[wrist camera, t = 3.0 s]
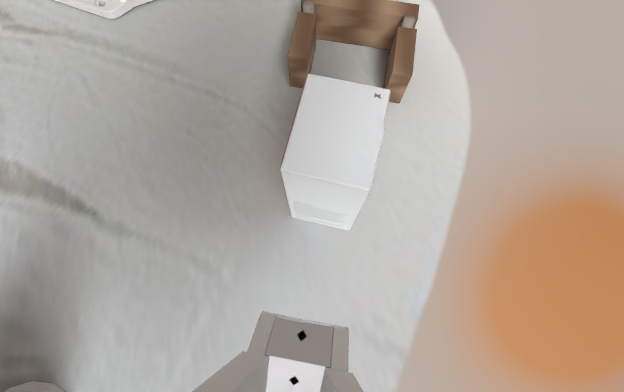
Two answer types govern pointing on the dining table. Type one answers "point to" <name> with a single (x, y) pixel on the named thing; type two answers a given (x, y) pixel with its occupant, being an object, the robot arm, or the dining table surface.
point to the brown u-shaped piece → (357, 36)
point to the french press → (35, 387)
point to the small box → (333, 149)
